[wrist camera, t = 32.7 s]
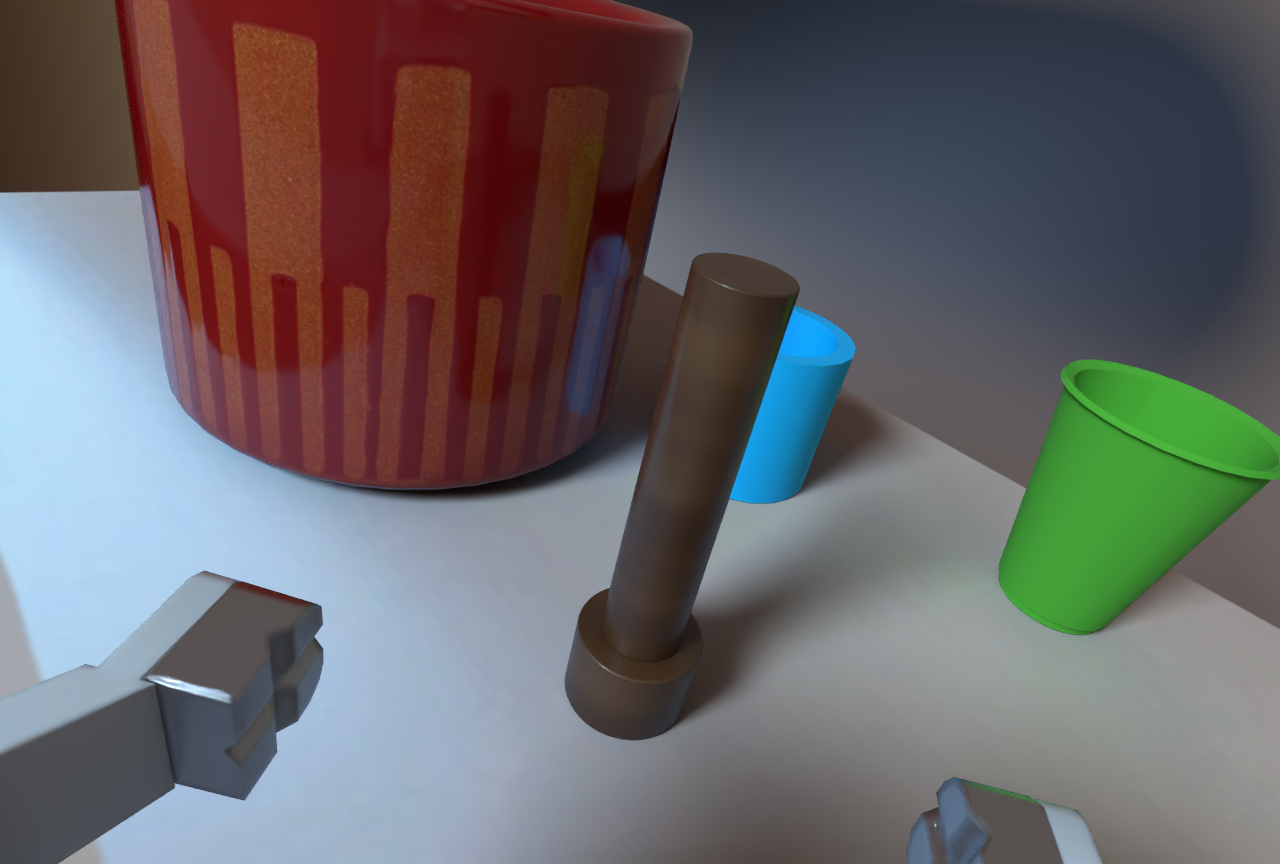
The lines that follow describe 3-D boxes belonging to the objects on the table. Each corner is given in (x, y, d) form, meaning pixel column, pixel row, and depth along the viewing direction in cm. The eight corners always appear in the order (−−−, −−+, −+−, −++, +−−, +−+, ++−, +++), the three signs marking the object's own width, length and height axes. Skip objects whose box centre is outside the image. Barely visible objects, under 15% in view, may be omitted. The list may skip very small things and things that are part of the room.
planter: (242, 572, 28) (180, -63, 17) (128, 311, 42) (56, -128, 31) (691, 449, 42) (806, 56, 31) (493, 284, 56) (528, -25, 45)
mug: (739, 521, 37) (789, 378, 33) (634, 436, 42) (666, 302, 37) (869, 462, 45) (923, 340, 40) (768, 396, 49) (807, 281, 45)
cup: (949, 610, 34) (1067, 409, 29) (964, 515, 42) (1060, 340, 36) (1157, 705, 32) (1332, 505, 26) (1134, 586, 39) (1266, 410, 34)
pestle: (677, 755, 25) (839, 326, 17) (551, 722, 25) (650, 279, 17) (688, 657, 29) (825, 267, 21) (578, 628, 29) (671, 228, 21)
